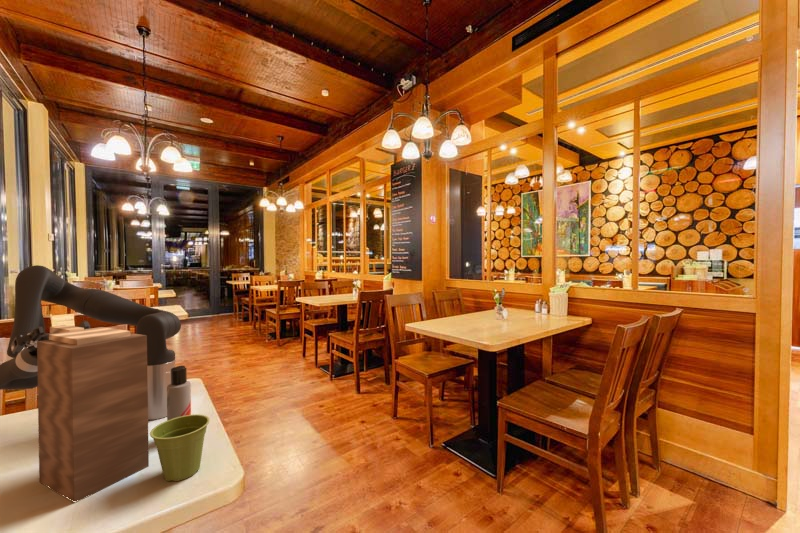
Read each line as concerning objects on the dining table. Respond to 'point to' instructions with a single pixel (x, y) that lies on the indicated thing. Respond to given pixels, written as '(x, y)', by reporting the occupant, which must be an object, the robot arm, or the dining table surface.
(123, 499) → the dining table surface
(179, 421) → the plant pot
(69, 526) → the dining table surface
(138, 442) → the walnut plinth
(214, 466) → the dining table surface
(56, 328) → the tan stepped slab
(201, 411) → the dining table surface
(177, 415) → the lotion bottle
